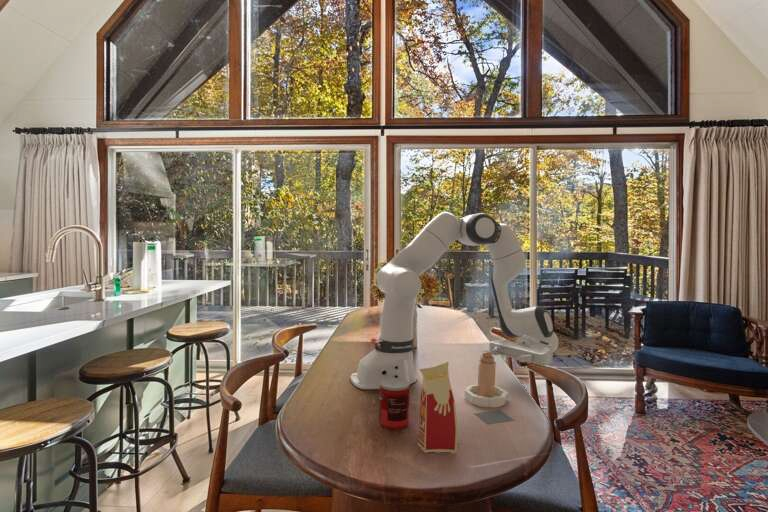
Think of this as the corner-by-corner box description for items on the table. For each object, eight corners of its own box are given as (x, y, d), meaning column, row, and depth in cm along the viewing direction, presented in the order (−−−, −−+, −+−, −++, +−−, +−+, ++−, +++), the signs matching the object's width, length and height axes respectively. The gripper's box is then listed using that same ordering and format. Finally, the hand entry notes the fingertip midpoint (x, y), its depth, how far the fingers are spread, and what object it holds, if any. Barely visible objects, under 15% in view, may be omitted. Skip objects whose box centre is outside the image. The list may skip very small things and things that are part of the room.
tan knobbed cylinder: (483, 401, 127) (484, 354, 126) (474, 395, 132) (475, 350, 131) (497, 399, 129) (499, 353, 128) (488, 393, 133) (490, 349, 132)
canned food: (391, 414, 119) (391, 375, 118) (414, 423, 114) (415, 382, 113) (373, 423, 113) (373, 382, 112) (397, 433, 108) (397, 390, 107)
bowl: (478, 410, 123) (479, 400, 123) (459, 395, 134) (459, 386, 134) (514, 405, 126) (514, 396, 126) (492, 391, 138) (492, 382, 137)
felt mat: (487, 425, 113) (487, 424, 113) (473, 414, 120) (473, 413, 120) (514, 421, 116) (514, 420, 116) (500, 410, 122) (500, 409, 122)
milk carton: (450, 434, 108) (452, 356, 107) (458, 453, 99) (460, 367, 97) (414, 434, 108) (416, 355, 106) (418, 453, 98) (420, 367, 97)
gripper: (501, 333, 155) (479, 339, 145) (557, 345, 140) (536, 353, 130) (501, 351, 155) (478, 358, 146) (556, 364, 140) (535, 373, 131)
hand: (506, 355), depth 138 cm, fingers open, 8 cm apart
